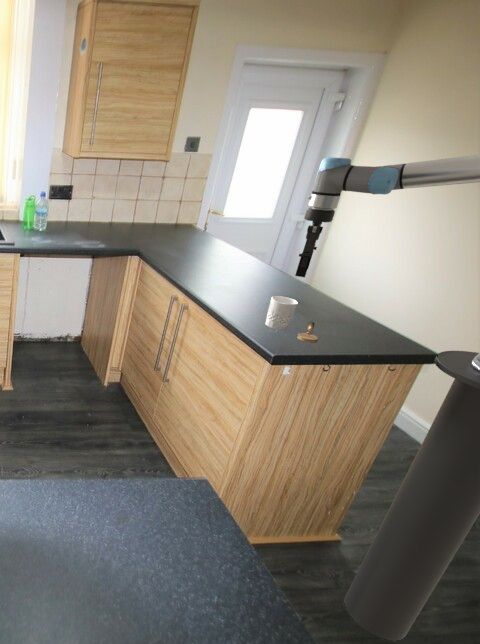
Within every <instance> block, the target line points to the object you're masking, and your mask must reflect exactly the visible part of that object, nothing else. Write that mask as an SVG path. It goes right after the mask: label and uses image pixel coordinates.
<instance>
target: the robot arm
mask: <svg viewBox="0 0 480 644" xmlns="http://www.w3.org/2000/svg"><path fill="white" fill-rule="evenodd" d="M475 183H476V184H477V183H480V153H479V154H471V155H463V156H456V157H447V158H440V159H439V158H437V159H430V160H424V161H415V162H414V161H413V162H406V163H399V164H387V165H379V166H371V165H370V166H369V165H365V166H364V165H355V164H352V159H351V158H348V157H331V156H329V157H328V156H327V157H325V158H323V159H322V160H321V162H320V164H319V167H318V171H317V172H316V177H315V179H314V184H313V187H312V191H311V195H310V196H308V197H307V200H308V205H307V206H308V208H306V211H305V214H304V220H306V221H309V222H312V223H311V225H310V224H309V225H308V226H307V230H306V236H305V240H306V241H305V243H304V247H303V250H302V252H301V253H299V254H298V257H300V258H299V262H298V265H297V268H296V271H295V275H294V276H295V277H299V278H306V275H307V272H308V270H309V267H310V264H311V261H312V258H313V255H314V252H315V251H317V249H318V247H317V246H316V243H317V241H318V240H319V238H320V236H321V234H322V233H323V229H324V226H322V224H323V223H331V222H332V221H333V219H334V216H335V213H336V211H335V209H337V208H338V205H339V202H340V198H341V194H342V191H344V192H352V193H353V192H354V193H361V194H371V195H389V194H390V193H391V192H392V191H396V190H406V189H418V188H430V187H440V186H441V187H442V186H452V185H453V186H454V185H464V184H475ZM478 353H479V354H478V355H477V356H476V357H475V358H474V359H473V360H472V362H471V367H472V368H474V369H475V370H477V371H478V372H480V352H478Z"/></svg>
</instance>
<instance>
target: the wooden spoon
mask: <svg viewBox="0 0 480 644" xmlns="http://www.w3.org/2000/svg"><path fill="white" fill-rule="evenodd" d="M307 325H308V326H307V328H306V332H299V333H298V334H297V336H296V337H297V339H298V340H300V341H302V342H305V343H310V344H316V343H318V340H319V337H318V336H316V335H314V334H313V331H314V327H315V322H314V321H309V322H308V324H307Z"/></svg>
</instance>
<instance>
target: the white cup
mask: <svg viewBox="0 0 480 644" xmlns="http://www.w3.org/2000/svg"><path fill="white" fill-rule="evenodd" d="M298 304H299V302H298V301H297V300H296V299H294V298H291V297H288V296H282V295H274V296H271V299H270V302H269V306H268V309H267V313H266V319H265V323H264V325H265V326H267V328H270V329H274V330H277V331H278V330H280V331H285V330H287V329H288V327H289V324H290V322H291V321H292V318H293V316H294V314H295V312H296V309H297V306H298Z"/></svg>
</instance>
